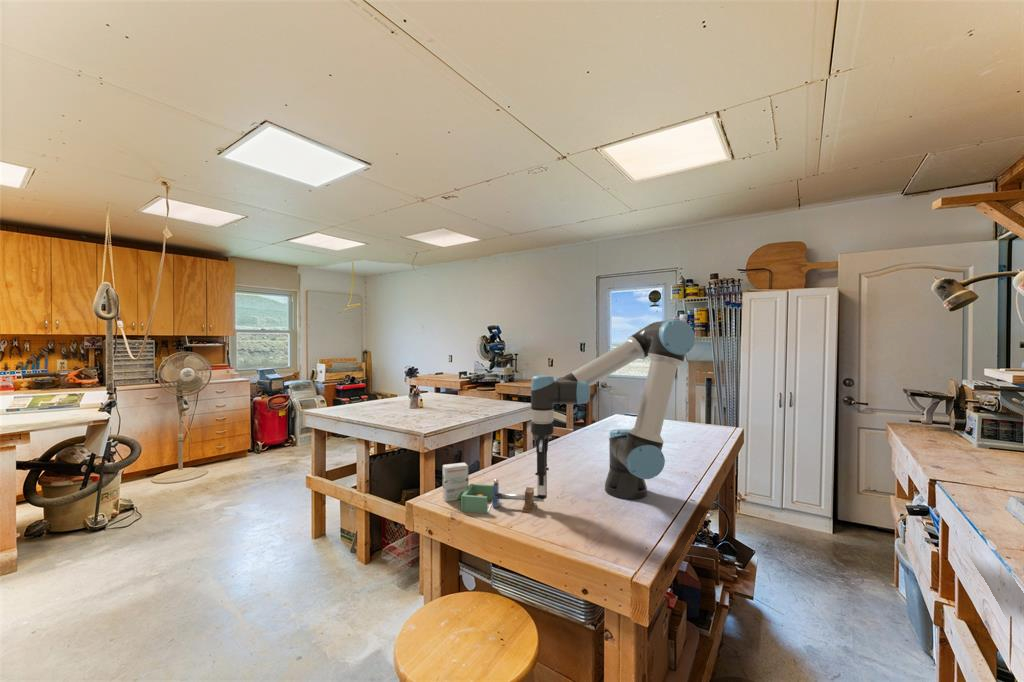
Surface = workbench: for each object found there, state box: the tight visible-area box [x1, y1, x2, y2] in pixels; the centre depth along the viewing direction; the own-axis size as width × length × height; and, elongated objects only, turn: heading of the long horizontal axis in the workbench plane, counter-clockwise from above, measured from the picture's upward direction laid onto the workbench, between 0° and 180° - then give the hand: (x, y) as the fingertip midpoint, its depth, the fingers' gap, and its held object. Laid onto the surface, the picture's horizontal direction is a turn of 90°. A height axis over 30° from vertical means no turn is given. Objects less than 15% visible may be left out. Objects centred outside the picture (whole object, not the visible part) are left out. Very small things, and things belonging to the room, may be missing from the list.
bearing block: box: [521, 486, 537, 514], centre depth 131 cm, size 4×7×6 cm, turn 171°
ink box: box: [442, 462, 469, 503], centre depth 140 cm, size 9×5×12 cm, turn 112°
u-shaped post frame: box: [492, 466, 548, 508], centre depth 132 cm, size 18×3×14 cm, turn 81°
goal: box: [460, 483, 494, 514], centre depth 134 cm, size 9×12×5 cm
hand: (542, 492), depth 130 cm, fingers closed on u-shaped post frame, 3 cm apart
